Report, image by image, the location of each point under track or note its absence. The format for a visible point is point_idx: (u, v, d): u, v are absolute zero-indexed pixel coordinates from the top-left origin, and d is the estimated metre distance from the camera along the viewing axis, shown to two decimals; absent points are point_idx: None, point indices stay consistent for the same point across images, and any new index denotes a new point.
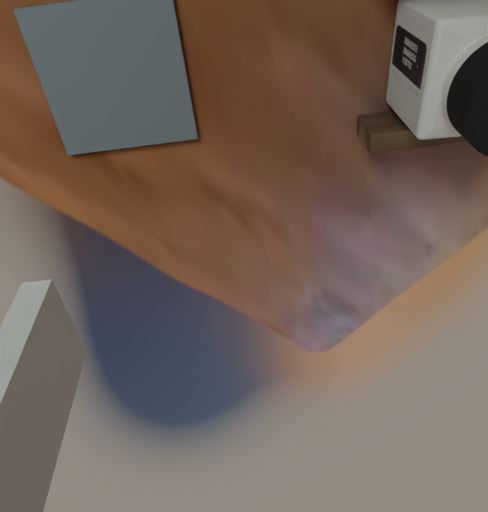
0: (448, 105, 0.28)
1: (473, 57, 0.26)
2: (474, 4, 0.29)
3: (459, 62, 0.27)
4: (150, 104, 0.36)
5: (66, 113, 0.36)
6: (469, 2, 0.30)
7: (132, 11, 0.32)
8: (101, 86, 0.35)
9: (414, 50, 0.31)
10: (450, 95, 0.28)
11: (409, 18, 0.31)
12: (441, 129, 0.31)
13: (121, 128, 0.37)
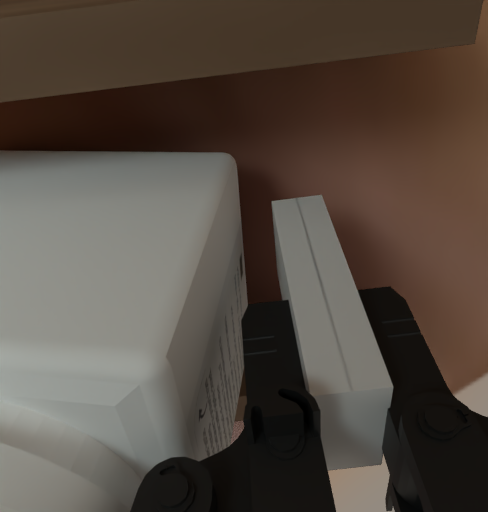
0: None
1: None
2: (13, 240, 0.10)
3: None
4: None
5: None
6: (31, 221, 0.11)
7: None
8: None
9: None
10: None
11: None
12: None
13: None
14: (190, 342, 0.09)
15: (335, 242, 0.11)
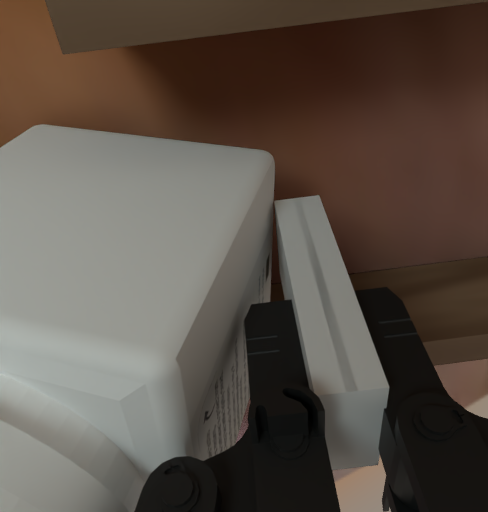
0: None
1: None
2: (42, 217, 0.10)
3: None
4: None
5: None
6: (62, 200, 0.11)
7: None
8: None
9: None
10: None
11: None
12: None
13: None
14: (203, 344, 0.09)
15: (332, 242, 0.11)
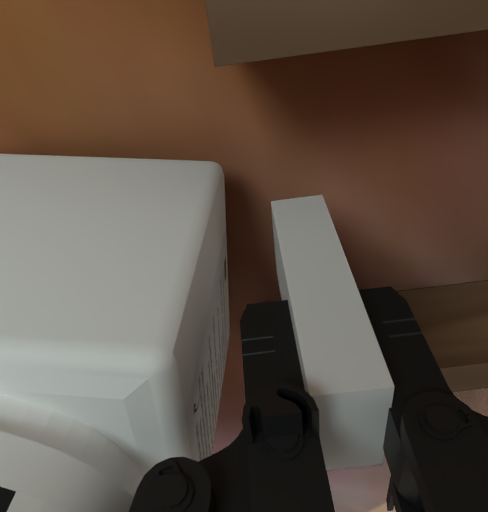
0: None
1: None
2: (13, 243, 0.10)
3: None
4: None
5: None
6: (29, 224, 0.11)
7: None
8: None
9: None
10: None
11: None
12: None
13: None
14: (189, 340, 0.09)
15: (336, 242, 0.11)
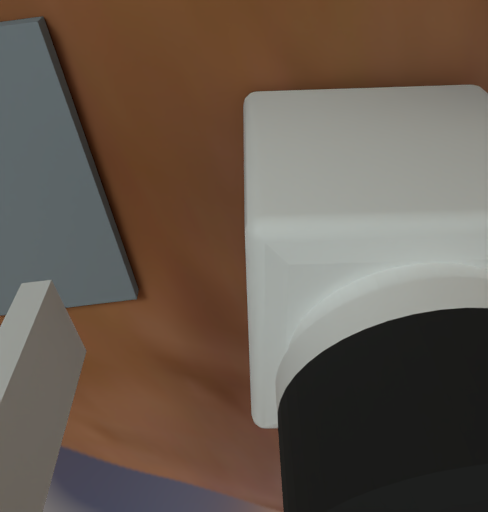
0: (280, 442, 0.10)
1: (328, 368, 0.08)
2: (385, 150, 0.11)
3: (302, 350, 0.09)
4: (33, 249, 0.18)
5: None
6: (379, 137, 0.12)
7: None
8: None
9: None
10: (278, 429, 0.10)
11: None
12: None
13: None
14: None
15: None
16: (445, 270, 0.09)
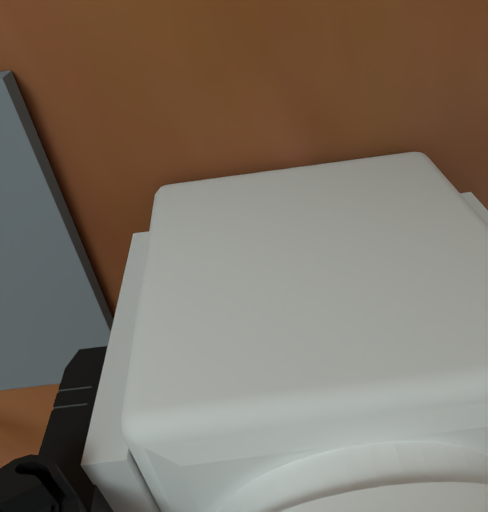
0: None
1: None
2: (306, 272, 0.09)
3: None
4: (7, 325, 0.15)
5: None
6: (300, 249, 0.10)
7: None
8: None
9: None
10: None
11: None
12: None
13: None
14: None
15: None
16: (382, 456, 0.07)
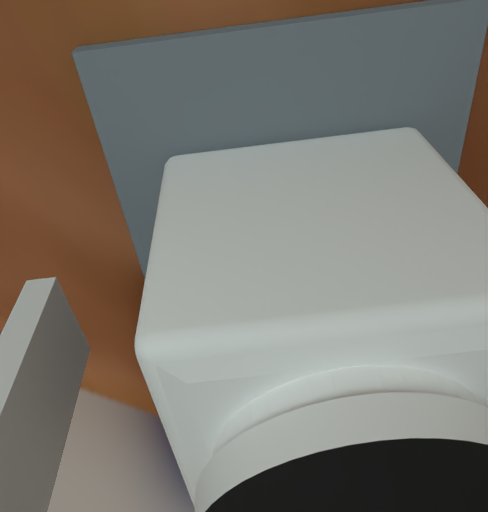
0: None
1: None
2: (302, 225, 0.10)
3: (209, 484, 0.08)
4: None
5: None
6: (297, 207, 0.11)
7: (375, 55, 0.12)
8: None
9: None
10: None
11: None
12: None
13: None
14: None
15: None
16: (364, 376, 0.08)
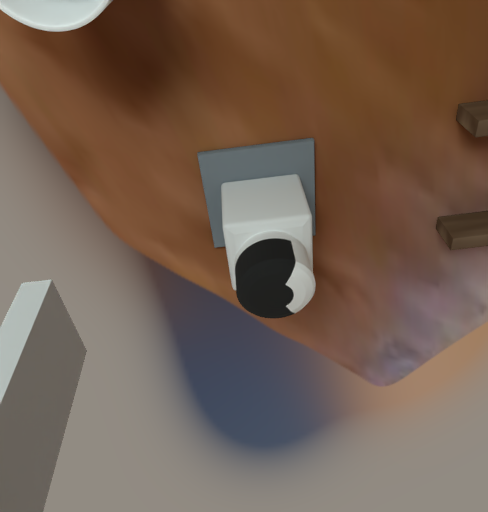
0: None
1: (242, 255, 0.38)
2: (259, 202, 0.41)
3: (238, 254, 0.39)
4: None
5: (220, 219, 0.48)
6: (259, 198, 0.42)
7: (283, 154, 0.44)
8: None
9: None
10: None
11: None
12: None
13: None
14: None
15: None
16: (270, 232, 0.39)
